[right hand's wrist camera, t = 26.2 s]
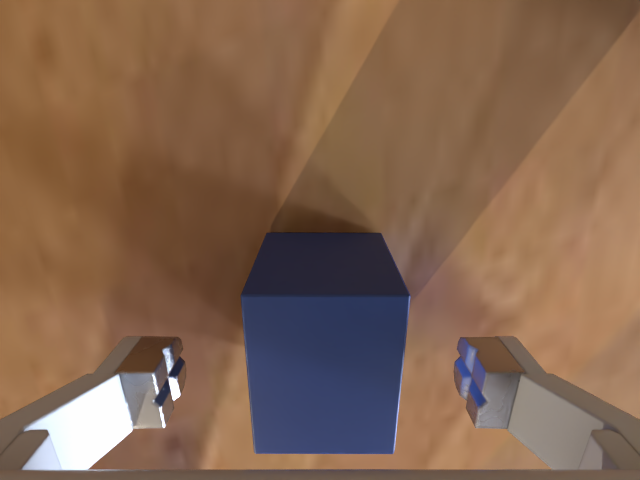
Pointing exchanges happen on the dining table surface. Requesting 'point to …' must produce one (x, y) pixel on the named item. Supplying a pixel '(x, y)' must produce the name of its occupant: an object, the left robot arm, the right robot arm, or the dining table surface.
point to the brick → (324, 344)
